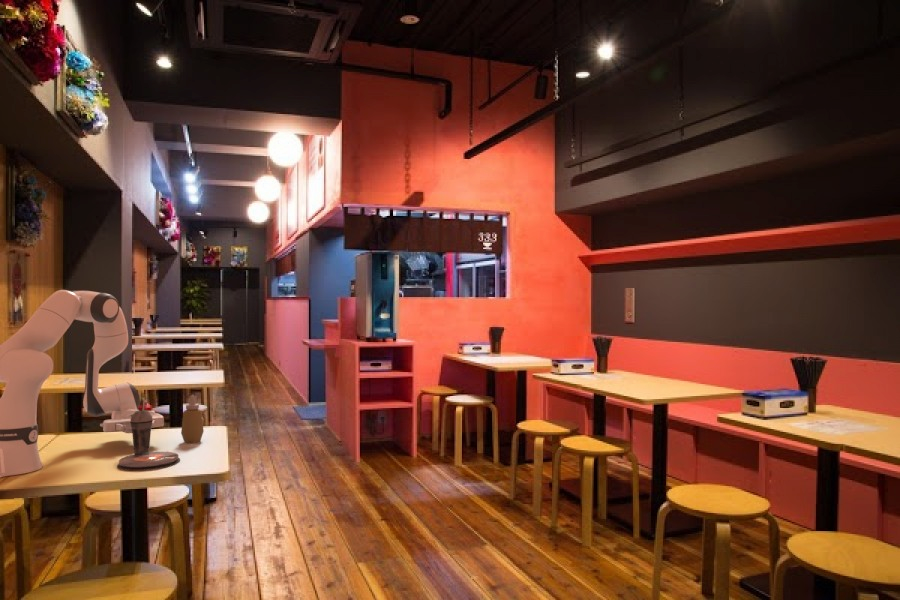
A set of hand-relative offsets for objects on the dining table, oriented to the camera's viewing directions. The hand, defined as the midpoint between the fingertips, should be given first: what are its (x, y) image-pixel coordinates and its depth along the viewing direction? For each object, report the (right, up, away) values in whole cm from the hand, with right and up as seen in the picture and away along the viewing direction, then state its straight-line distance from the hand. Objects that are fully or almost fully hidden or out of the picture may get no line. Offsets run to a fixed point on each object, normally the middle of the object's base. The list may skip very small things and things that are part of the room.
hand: (138, 426), depth 228 cm
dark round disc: (+13, -9, -18) cm, 23 cm away
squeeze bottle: (+13, -9, +15) cm, 22 cm away
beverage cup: (+3, -9, -4) cm, 10 cm away
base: (+13, -9, -18) cm, 23 cm away
